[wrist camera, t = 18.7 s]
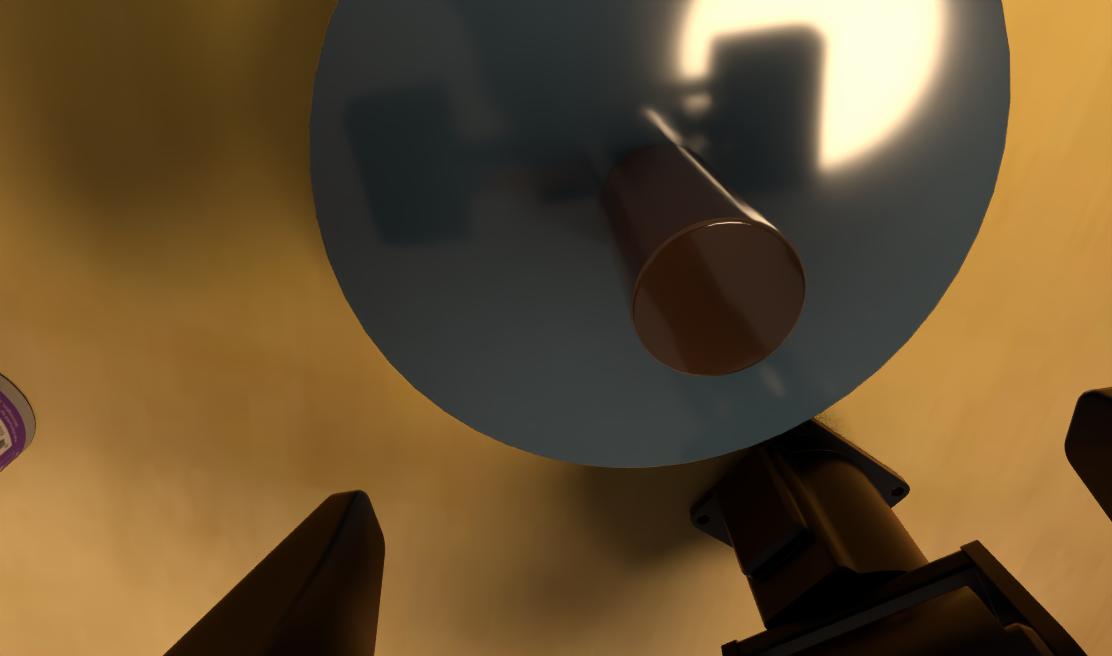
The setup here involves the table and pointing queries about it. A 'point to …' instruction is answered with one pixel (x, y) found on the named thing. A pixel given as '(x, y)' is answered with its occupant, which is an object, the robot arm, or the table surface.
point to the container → (14, 423)
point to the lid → (651, 204)
